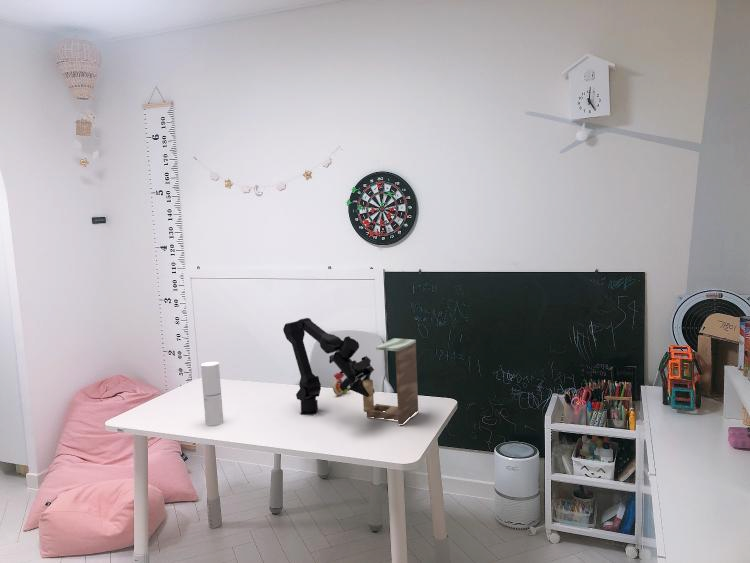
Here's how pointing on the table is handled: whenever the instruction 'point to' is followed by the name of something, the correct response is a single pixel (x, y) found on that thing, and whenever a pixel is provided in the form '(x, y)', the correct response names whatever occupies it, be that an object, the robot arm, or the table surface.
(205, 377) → the cylindrical container
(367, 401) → the peg
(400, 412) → the socket stand
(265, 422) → the table surface
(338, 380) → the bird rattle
